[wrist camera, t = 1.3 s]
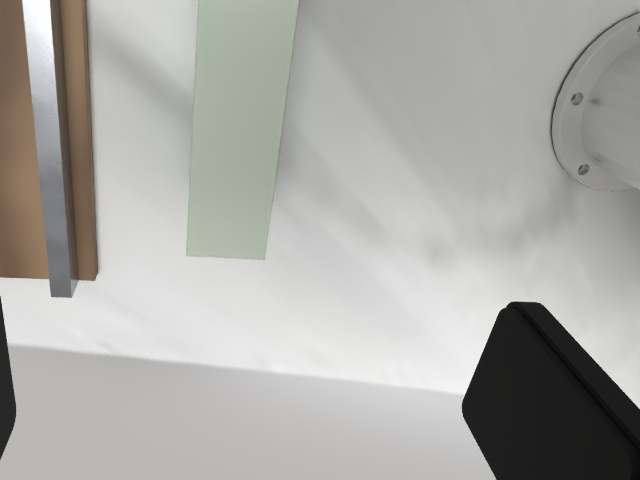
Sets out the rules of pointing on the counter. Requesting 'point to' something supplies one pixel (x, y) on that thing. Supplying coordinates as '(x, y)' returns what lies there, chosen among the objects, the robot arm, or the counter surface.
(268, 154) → the pale green block
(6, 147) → the door track
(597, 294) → the counter surface
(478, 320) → the counter surface
